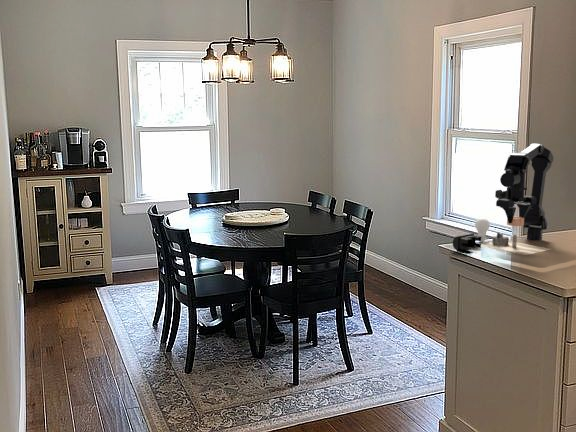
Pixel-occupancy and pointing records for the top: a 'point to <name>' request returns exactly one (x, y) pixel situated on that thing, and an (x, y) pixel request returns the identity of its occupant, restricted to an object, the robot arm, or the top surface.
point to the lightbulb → (482, 227)
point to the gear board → (518, 248)
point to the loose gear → (516, 221)
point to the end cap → (466, 243)
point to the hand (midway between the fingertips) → (515, 222)
